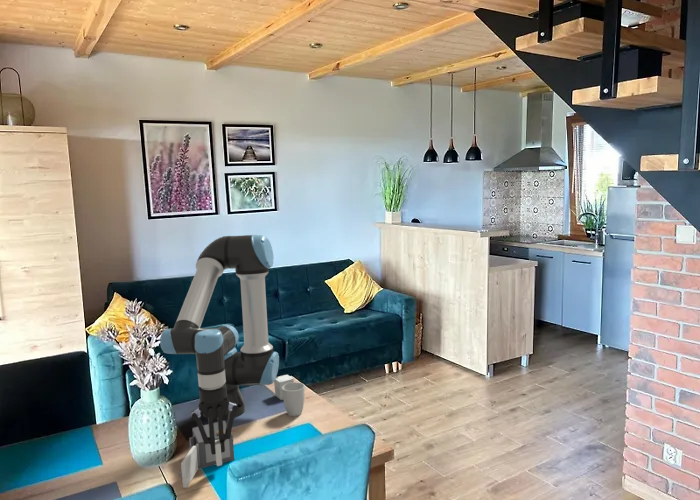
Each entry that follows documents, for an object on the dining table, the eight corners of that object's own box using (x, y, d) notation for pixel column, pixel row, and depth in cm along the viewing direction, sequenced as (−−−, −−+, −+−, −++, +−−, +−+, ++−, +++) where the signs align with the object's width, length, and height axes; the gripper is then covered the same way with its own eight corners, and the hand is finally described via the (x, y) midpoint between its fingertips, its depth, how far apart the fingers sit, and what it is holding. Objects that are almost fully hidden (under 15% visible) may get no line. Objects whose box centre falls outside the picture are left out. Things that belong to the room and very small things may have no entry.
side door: (200, 467, 152) (198, 443, 151) (188, 487, 141) (185, 462, 140) (192, 467, 152) (190, 443, 151) (179, 488, 141) (177, 463, 140)
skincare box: (295, 396, 202) (294, 378, 201) (280, 400, 199) (279, 382, 198) (288, 391, 207) (287, 374, 207) (274, 395, 204) (273, 377, 204)
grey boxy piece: (189, 453, 161) (187, 426, 160) (226, 444, 166) (224, 418, 165) (195, 470, 151) (193, 441, 150) (234, 459, 156) (232, 432, 155)
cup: (309, 409, 190) (308, 383, 188) (300, 419, 182) (298, 391, 181) (289, 407, 192) (287, 381, 191) (279, 416, 185) (277, 389, 184)
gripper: (233, 376, 152) (239, 452, 155) (187, 384, 148) (194, 462, 151) (237, 385, 145) (243, 464, 148) (189, 394, 141) (196, 475, 144)
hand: (219, 463), depth 150 cm, fingers closed
